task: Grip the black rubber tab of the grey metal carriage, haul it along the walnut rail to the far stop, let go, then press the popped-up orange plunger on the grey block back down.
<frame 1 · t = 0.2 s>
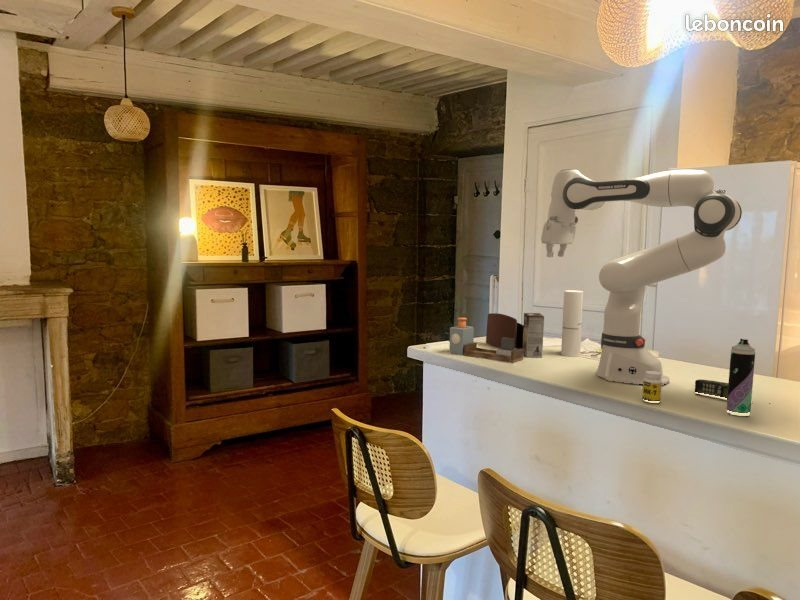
hand: (555, 256, 206), 39 cm above the table, tool pointing down, fingers open, 8 cm apart
coffee box: (532, 355, 229), on the table
spray can: (737, 414, 156), on the table
supplement bottle: (651, 402, 166), on the table
rail bed: (492, 357, 223), on the table
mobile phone: (722, 400, 170), on the table
cylindrical container: (570, 355, 231), on the table
plunger: (462, 326, 231), point 10 cm above the table, slide at 0.0 cm
grey block: (461, 352, 232), on the table
letter holder: (509, 347, 246), on the table
carriage: (507, 347, 219), point 5 cm above the table, slide at 0.0 cm
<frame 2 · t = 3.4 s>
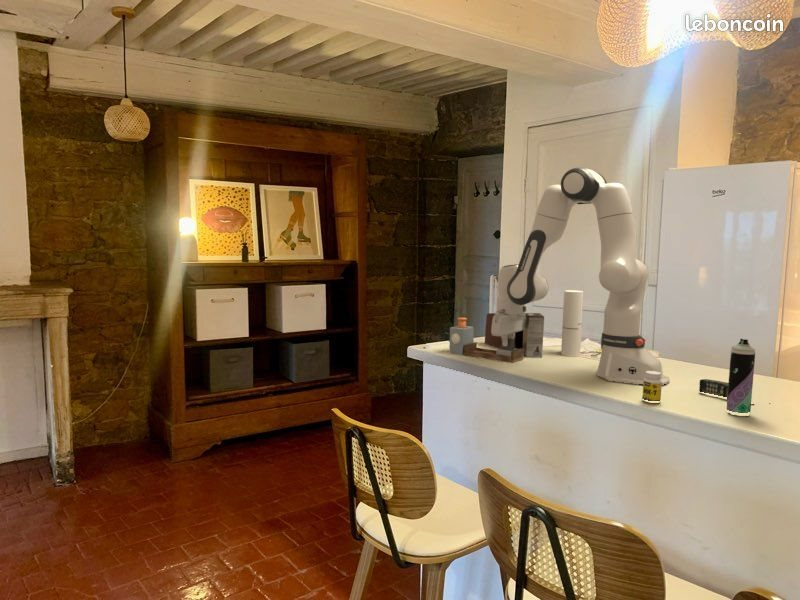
hand: (507, 345, 219), 5 cm above the table, tool pointing down, fingers closed on carriage, 2 cm apart
carriage: (507, 347, 219), point 5 cm above the table, slide at 0.0 cm, touching gripper
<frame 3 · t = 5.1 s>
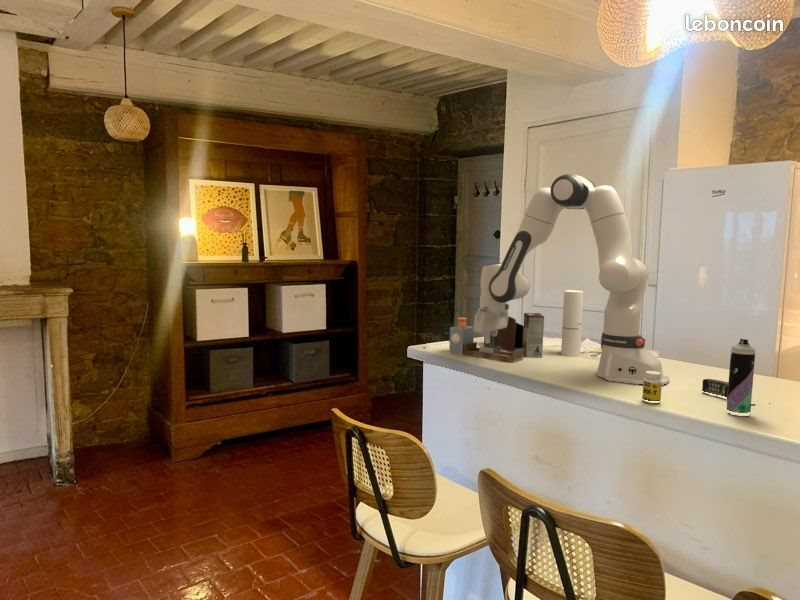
hand: (490, 342, 224), 6 cm above the table, tool pointing down, fingers closed on carriage, 2 cm apart
carriage: (490, 345, 224), point 5 cm above the table, slide at 7.3 cm, touching gripper
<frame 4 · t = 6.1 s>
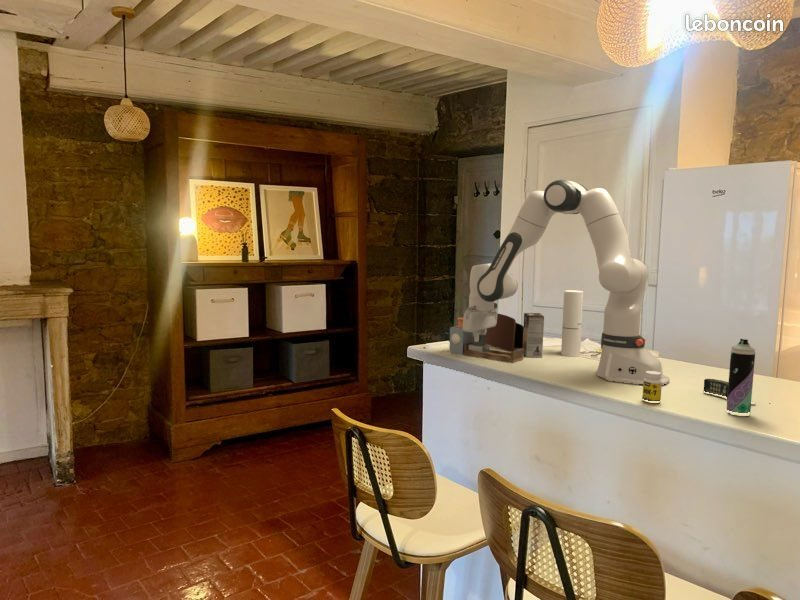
hand: (479, 340, 226), 6 cm above the table, tool pointing down, fingers closed on carriage, 2 cm apart
carriage: (479, 343, 227), point 5 cm above the table, slide at 12.0 cm, touching gripper
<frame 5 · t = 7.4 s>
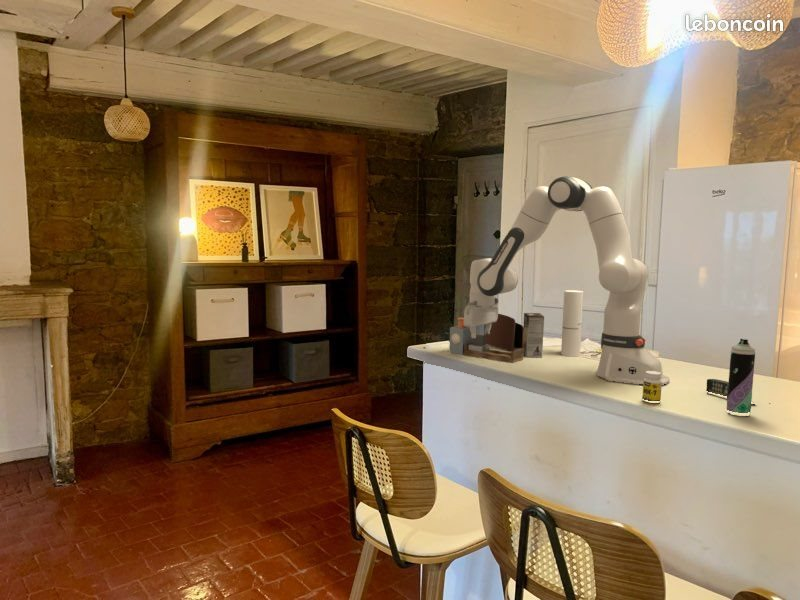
hand: (480, 336, 226), 7 cm above the table, tool pointing down, fingers open, 8 cm apart
carriage: (479, 343, 227), point 5 cm above the table, slide at 12.0 cm
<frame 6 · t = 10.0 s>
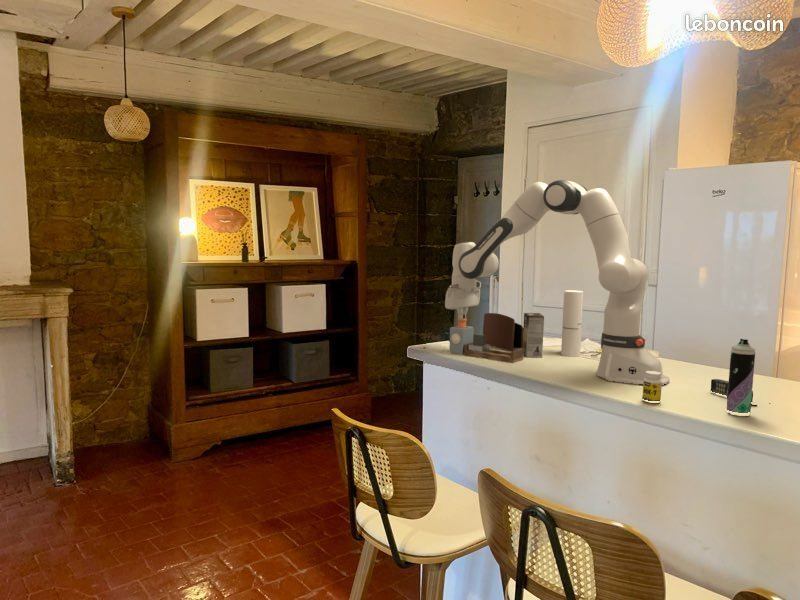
hand: (462, 318, 230), 13 cm above the table, tool pointing down, fingers closed, pressing on plunger
plunger: (462, 327, 231), point 10 cm above the table, slide at 0.3 cm, touching gripper
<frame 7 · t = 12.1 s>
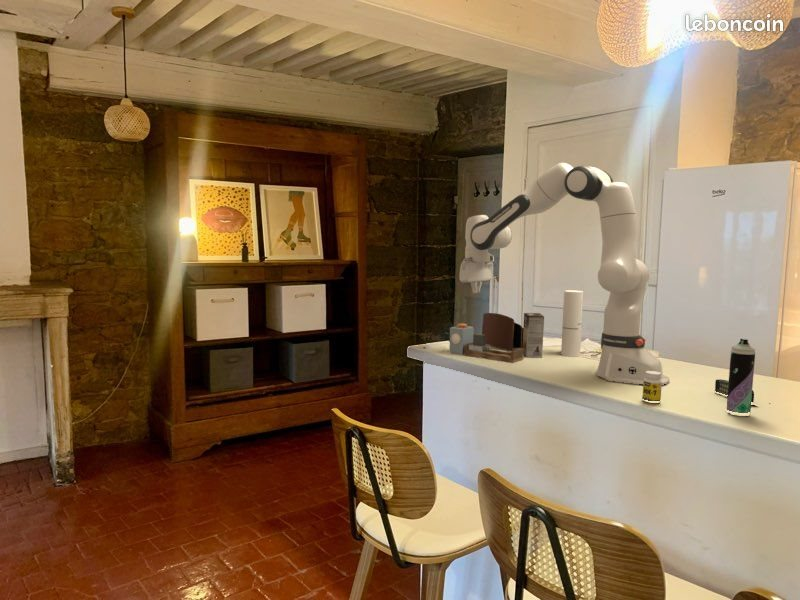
hand: (476, 292, 230), 24 cm above the table, tool pointing down, fingers closed
plunger: (461, 332, 231), point 8 cm above the table, slide at 2.4 cm
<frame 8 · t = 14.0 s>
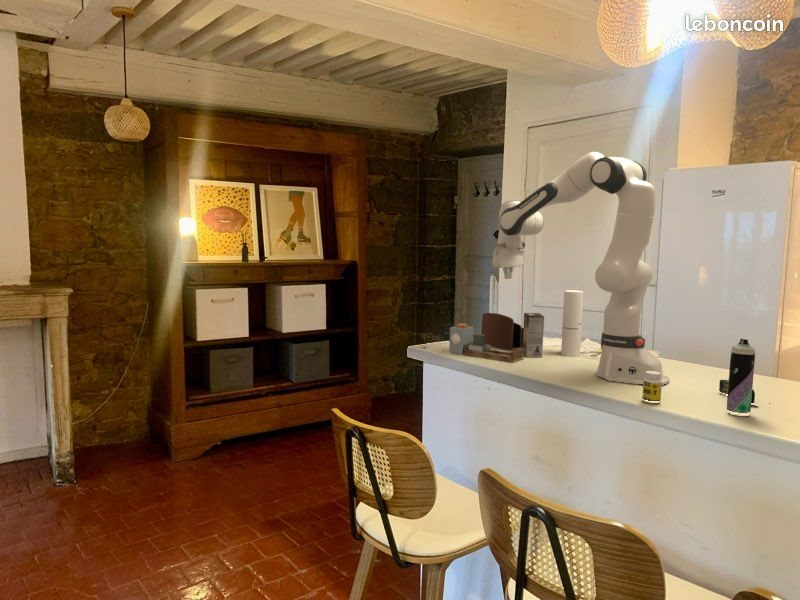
hand: (508, 278, 231), 29 cm above the table, tool pointing down, fingers closed
at the end: carriage slide at 12.0 cm; plunger slide at 2.4 cm; the gripper is holding nothing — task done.
